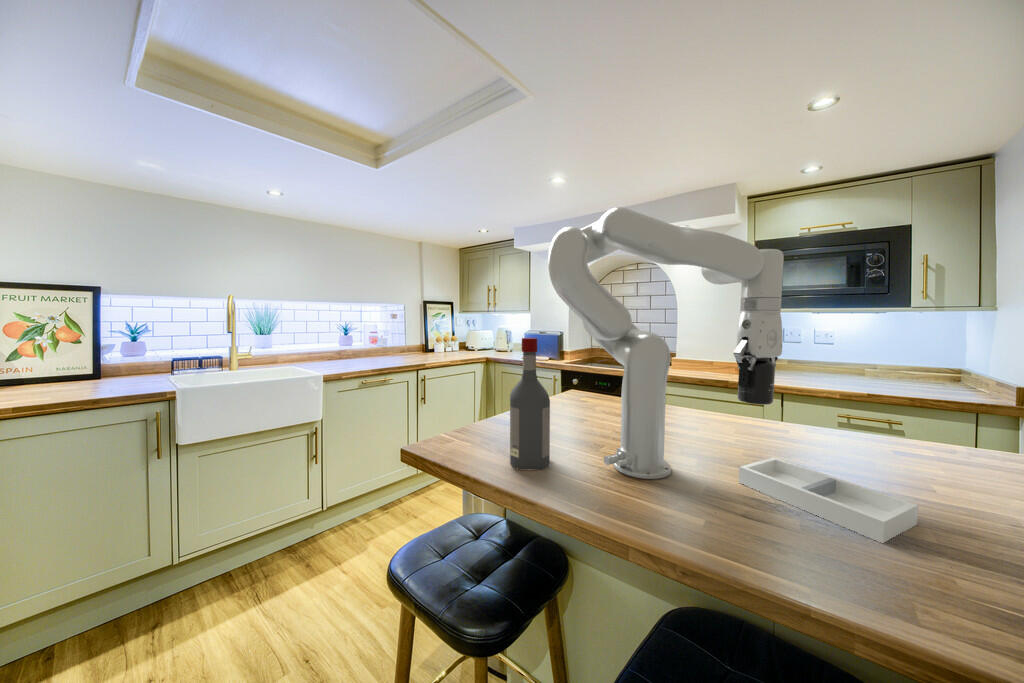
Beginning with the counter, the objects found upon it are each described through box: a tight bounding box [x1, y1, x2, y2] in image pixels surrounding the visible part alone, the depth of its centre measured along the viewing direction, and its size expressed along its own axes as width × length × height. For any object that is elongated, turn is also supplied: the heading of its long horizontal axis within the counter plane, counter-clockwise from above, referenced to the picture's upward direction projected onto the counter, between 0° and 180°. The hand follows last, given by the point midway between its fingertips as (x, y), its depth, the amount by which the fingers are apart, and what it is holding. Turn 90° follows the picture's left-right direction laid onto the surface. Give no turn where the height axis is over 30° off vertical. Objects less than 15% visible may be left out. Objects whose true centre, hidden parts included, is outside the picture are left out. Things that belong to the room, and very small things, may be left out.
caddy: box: [738, 456, 919, 544], centre depth 71 cm, size 12×23×4 cm, turn 25°
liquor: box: [509, 337, 551, 470], centre depth 88 cm, size 9×9×30 cm
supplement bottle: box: [737, 354, 776, 406], centre depth 84 cm, size 7×7×12 cm
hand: (756, 385), depth 84 cm, fingers closed on supplement bottle, 6 cm apart
